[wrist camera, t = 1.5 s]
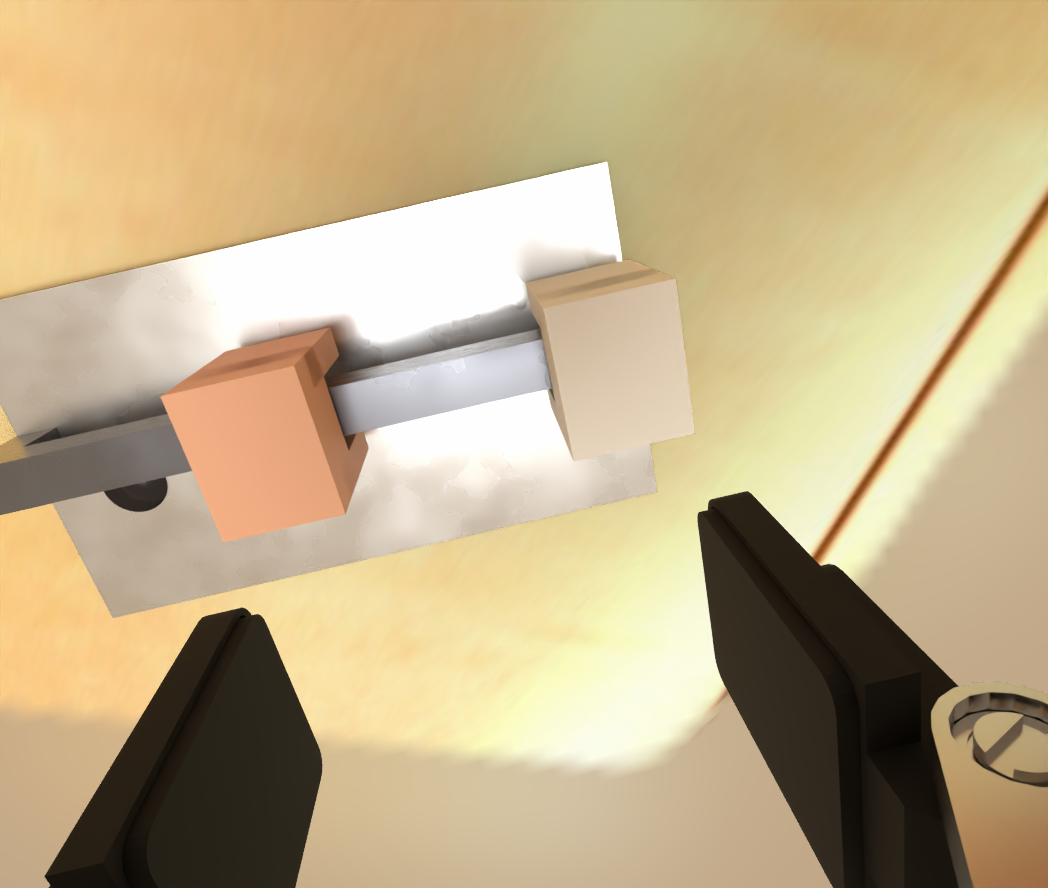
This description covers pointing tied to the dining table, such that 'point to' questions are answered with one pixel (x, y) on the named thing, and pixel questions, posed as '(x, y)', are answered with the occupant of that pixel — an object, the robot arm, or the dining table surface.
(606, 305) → the fixed leg
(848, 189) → the dining table surface
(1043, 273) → the dining table surface
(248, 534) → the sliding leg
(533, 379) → the beam
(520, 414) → the bolt plate
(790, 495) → the dining table surface
